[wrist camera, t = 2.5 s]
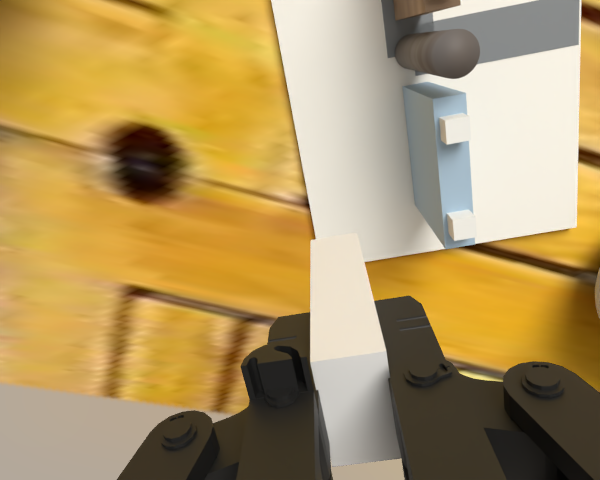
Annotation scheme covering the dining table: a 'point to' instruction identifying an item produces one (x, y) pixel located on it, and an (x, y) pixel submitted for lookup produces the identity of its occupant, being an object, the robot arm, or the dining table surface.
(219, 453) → the robot arm
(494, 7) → the card
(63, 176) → the dining table surface
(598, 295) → the teacup
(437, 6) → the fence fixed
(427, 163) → the fence panel
